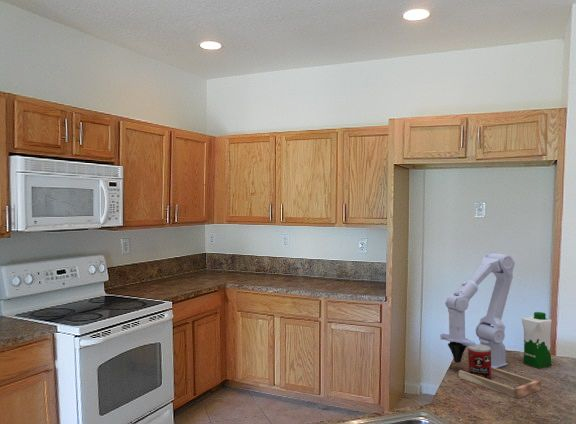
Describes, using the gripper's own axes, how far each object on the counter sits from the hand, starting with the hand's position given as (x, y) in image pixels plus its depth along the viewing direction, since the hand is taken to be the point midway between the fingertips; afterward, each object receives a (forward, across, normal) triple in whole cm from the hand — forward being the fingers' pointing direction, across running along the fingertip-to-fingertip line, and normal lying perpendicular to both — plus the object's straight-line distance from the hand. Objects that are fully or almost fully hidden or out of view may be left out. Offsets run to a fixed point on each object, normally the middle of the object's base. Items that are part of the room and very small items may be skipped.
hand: (457, 362), depth 174 cm
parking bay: (+3, +17, 0) cm, 17 cm away
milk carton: (+3, +14, +30) cm, 33 cm away
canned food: (+3, +10, 0) cm, 10 cm away
